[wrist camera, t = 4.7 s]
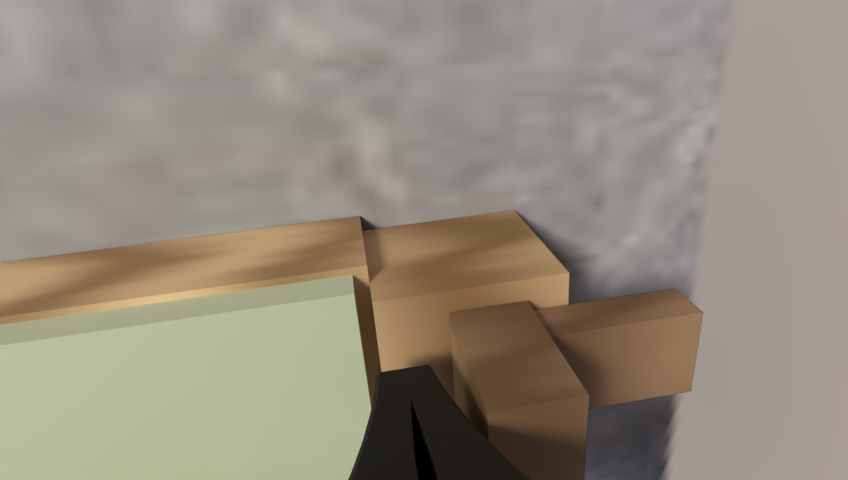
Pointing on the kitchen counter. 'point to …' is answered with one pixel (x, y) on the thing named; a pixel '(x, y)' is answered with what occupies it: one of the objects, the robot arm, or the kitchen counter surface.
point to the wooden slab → (316, 277)
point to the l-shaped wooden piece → (567, 370)
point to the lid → (189, 389)
